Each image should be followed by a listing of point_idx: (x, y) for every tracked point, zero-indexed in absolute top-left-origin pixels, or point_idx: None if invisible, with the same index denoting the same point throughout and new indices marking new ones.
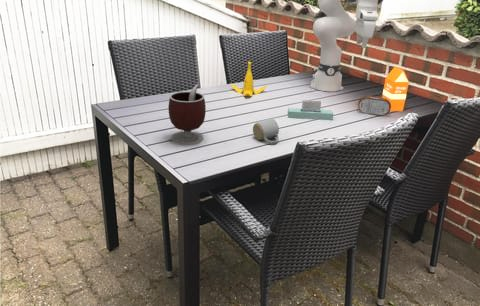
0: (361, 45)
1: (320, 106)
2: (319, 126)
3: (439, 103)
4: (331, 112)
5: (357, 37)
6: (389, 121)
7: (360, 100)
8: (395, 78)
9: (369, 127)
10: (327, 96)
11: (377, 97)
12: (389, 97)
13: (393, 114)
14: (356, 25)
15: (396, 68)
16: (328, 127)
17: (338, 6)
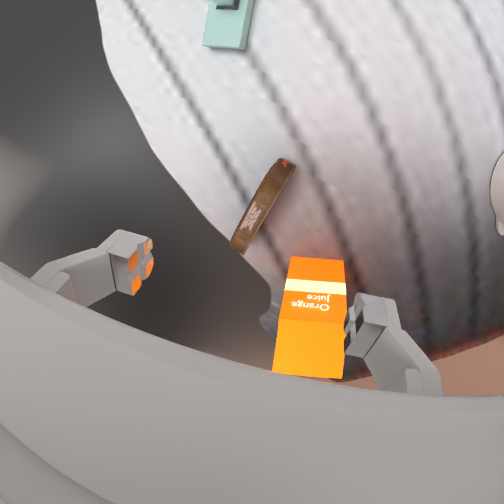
0: (131, 242)
1: (213, 1)
2: (162, 7)
3: None
4: (215, 41)
5: (401, 351)
6: (205, 214)
7: (272, 166)
8: (287, 334)
9: (158, 139)
10: (457, 137)
11: (257, 227)
12: (298, 281)
13: (262, 253)
14: (484, 492)
15: (324, 372)
16: (154, 29)
17: None
